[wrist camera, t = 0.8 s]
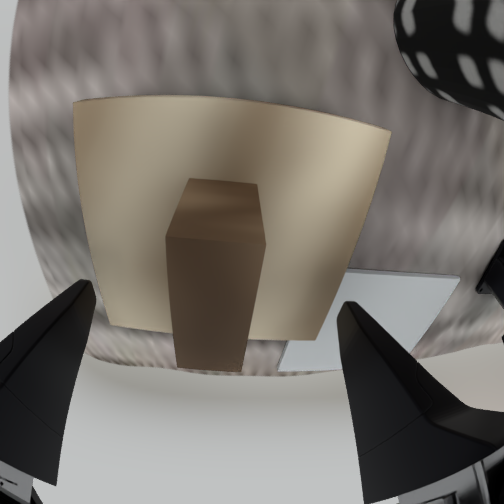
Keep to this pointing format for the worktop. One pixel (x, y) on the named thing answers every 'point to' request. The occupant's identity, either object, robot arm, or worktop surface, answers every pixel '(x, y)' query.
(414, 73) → the white-spotted black cylinder
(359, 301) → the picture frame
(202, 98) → the cover
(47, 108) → the worktop surface
